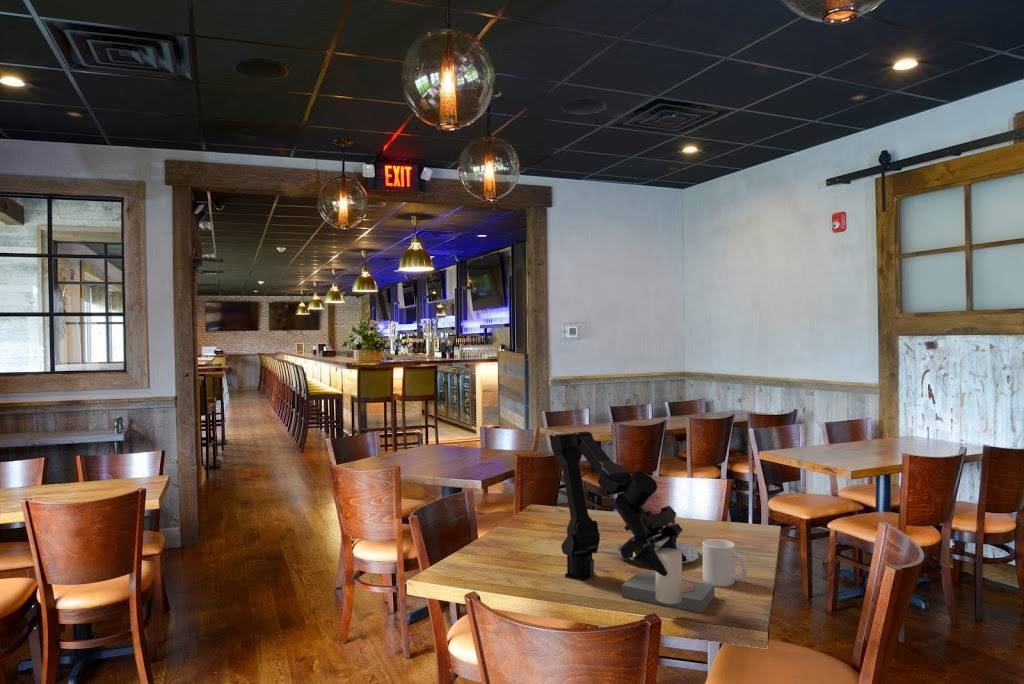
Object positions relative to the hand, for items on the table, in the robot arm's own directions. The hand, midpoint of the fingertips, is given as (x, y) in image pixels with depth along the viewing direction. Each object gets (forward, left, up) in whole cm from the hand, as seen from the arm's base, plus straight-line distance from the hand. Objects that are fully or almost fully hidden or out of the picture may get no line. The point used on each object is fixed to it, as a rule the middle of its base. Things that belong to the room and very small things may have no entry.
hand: (673, 571), depth 157 cm
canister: (-1, 0, -7) cm, 7 cm away
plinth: (-5, +12, -11) cm, 17 cm away
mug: (+5, +29, -11) cm, 32 cm away
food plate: (-18, +42, -11) cm, 48 cm away
